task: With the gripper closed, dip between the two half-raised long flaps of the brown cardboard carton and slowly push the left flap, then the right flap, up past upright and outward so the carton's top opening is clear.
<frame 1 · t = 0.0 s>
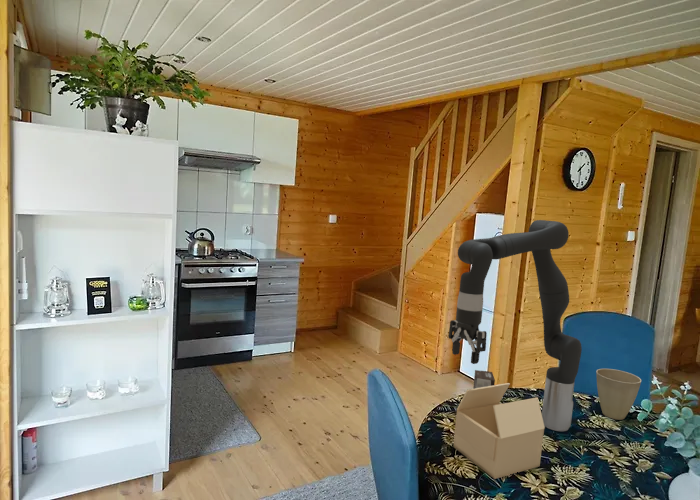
hand: (464, 358, 143), 29 cm above the table, tool pointing down, fingers open, 8 cm apart
plant pot: (612, 415, 178), on the table
carton: (495, 456, 143), on the table
flap 2: (519, 417, 135), point 16 cm above the table, hinge at 65.0°
coffee box: (480, 417, 169), on the table
flap 1: (483, 396, 148), point 16 cm above the table, hinge at 65.0°
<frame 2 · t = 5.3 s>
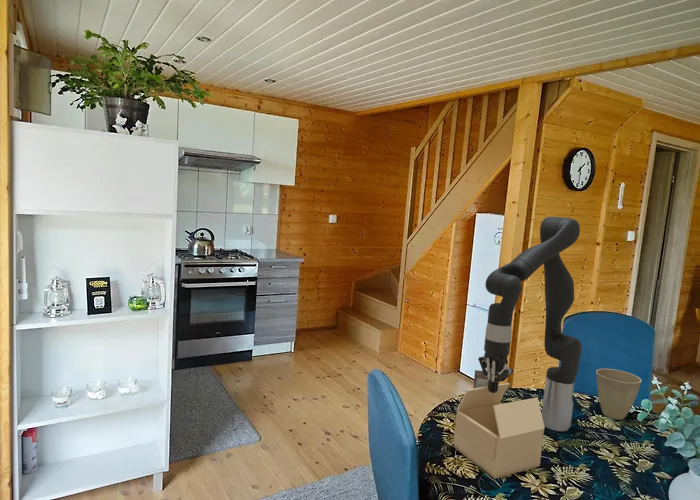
hand: (492, 391, 144), 19 cm above the table, tool pointing down, fingers closed
flap 1: (483, 396, 148), point 16 cm above the table, hinge at 65.3°, touching gripper
everything else where it was.
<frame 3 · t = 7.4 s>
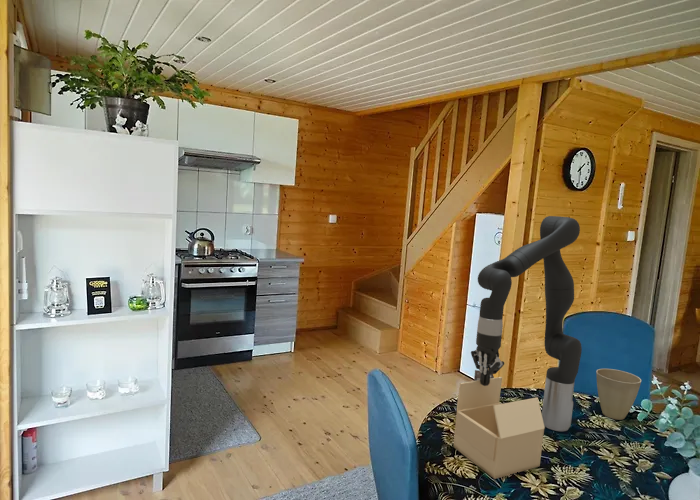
hand: (484, 384, 147), 20 cm above the table, tool pointing down, fingers closed
flap 1: (479, 393, 149), point 16 cm above the table, hinge at 88.9°, touching gripper
everything else where it was.
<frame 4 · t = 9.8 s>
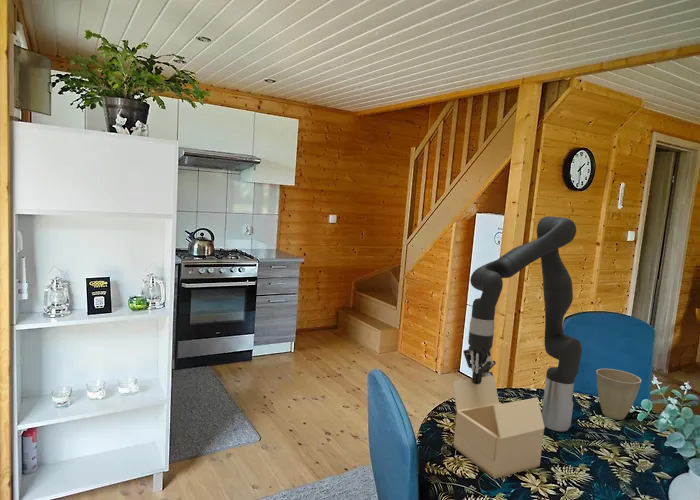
hand: (476, 383, 151), 19 cm above the table, tool pointing down, fingers closed
flap 1: (475, 392, 151), point 16 cm above the table, hinge at 113.1°, touching gripper
everything else where it was.
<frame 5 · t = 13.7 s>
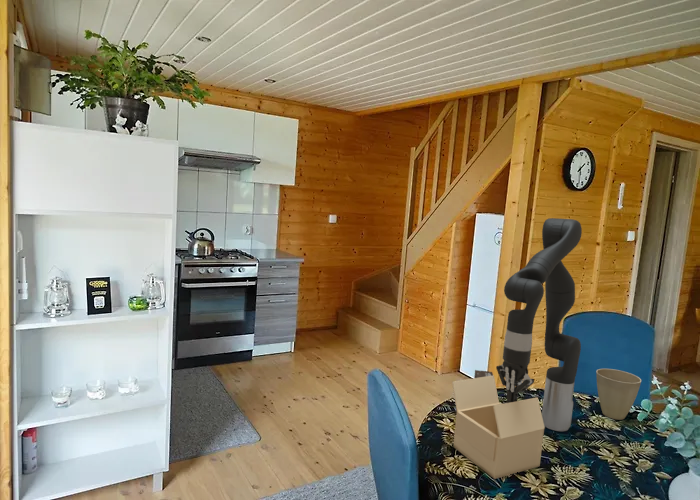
hand: (511, 402, 137), 19 cm above the table, tool pointing down, fingers closed
flap 2: (519, 417, 135), point 16 cm above the table, hinge at 65.0°, touching gripper
flap 1: (475, 392, 151), point 16 cm above the table, hinge at 113.4°
everything else where it was.
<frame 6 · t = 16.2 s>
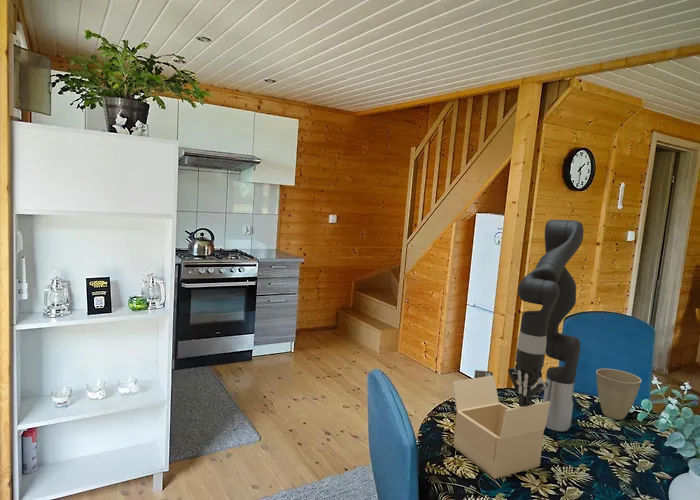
hand: (523, 406, 133), 20 cm above the table, tool pointing down, fingers closed
flap 2: (525, 420, 133), point 16 cm above the table, hinge at 95.5°, touching gripper
everything else where it was.
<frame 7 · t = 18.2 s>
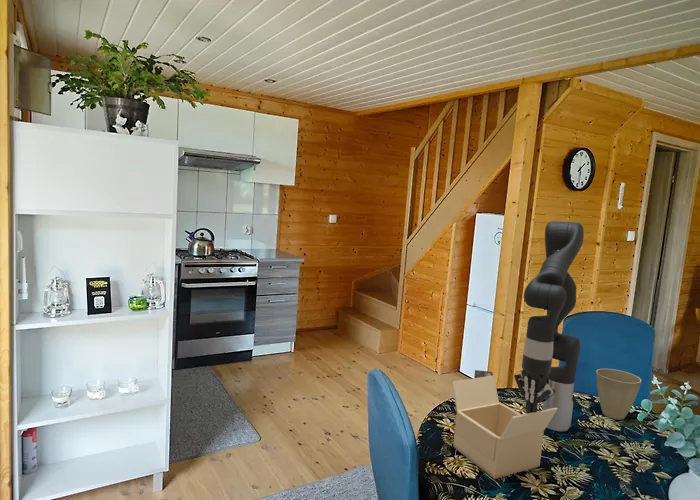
hand: (530, 413, 131), 19 cm above the table, tool pointing down, fingers closed
flap 2: (529, 423, 132), point 16 cm above the table, hinge at 113.3°, touching gripper
everything else where it was.
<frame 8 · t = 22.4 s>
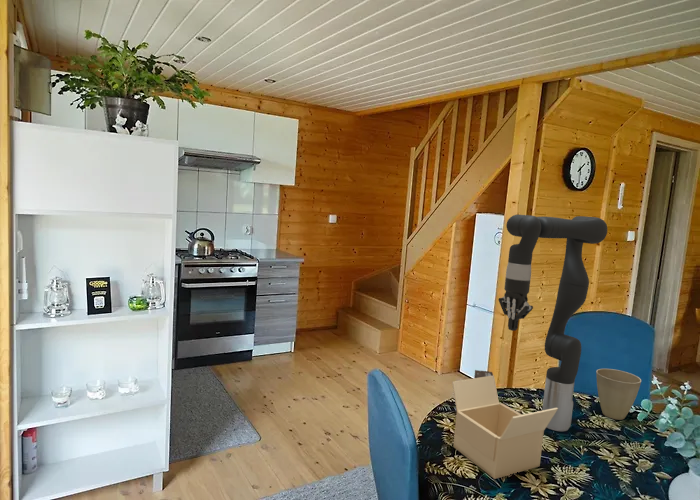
hand: (512, 329, 151), 37 cm above the table, tool pointing down, fingers closed
flap 2: (529, 423, 132), point 16 cm above the table, hinge at 113.6°
everything else where it was.
at the end: flap 1 at +113° (first picture: +65°); flap 2 at +114° (first picture: +65°) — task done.
